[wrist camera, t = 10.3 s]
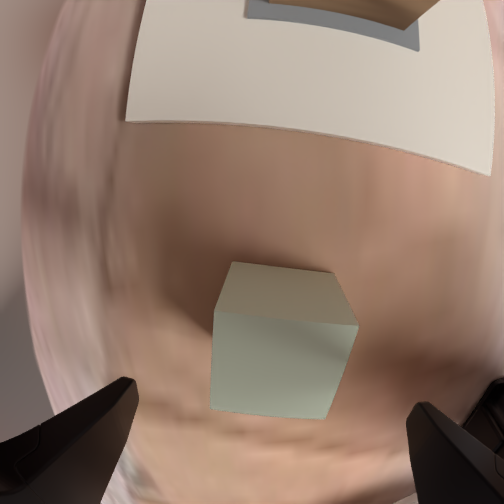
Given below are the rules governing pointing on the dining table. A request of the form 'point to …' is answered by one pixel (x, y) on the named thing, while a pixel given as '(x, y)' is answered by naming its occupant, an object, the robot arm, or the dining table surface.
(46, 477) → the robot arm
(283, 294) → the sage block
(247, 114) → the off-white flat square slab
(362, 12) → the walnut block
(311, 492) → the dining table surface
